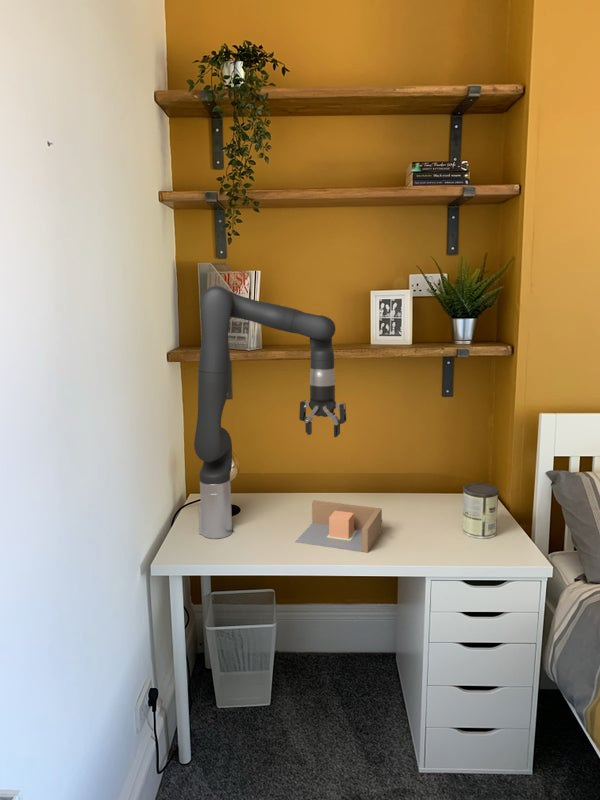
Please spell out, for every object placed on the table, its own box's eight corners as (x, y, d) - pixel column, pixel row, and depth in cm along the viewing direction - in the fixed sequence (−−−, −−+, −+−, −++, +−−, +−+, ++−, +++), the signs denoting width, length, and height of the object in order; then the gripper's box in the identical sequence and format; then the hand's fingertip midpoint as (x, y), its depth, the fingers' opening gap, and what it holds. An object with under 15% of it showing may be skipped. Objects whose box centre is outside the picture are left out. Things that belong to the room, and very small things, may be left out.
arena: (294, 545, 183) (294, 519, 181) (314, 523, 199) (313, 500, 197) (367, 556, 175) (367, 529, 174) (381, 533, 191) (381, 508, 189)
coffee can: (468, 523, 198) (470, 480, 195) (500, 530, 192) (503, 486, 189) (456, 534, 189) (458, 490, 187) (490, 541, 184) (492, 496, 181)
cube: (329, 536, 186) (329, 517, 185) (335, 528, 192) (335, 510, 191) (348, 539, 184) (348, 520, 183) (353, 531, 190) (354, 512, 188)
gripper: (295, 383, 185) (296, 436, 188) (341, 386, 180) (341, 440, 183) (304, 380, 192) (305, 430, 195) (348, 382, 187) (348, 434, 190)
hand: (322, 435), depth 189 cm, fingers open, 8 cm apart
